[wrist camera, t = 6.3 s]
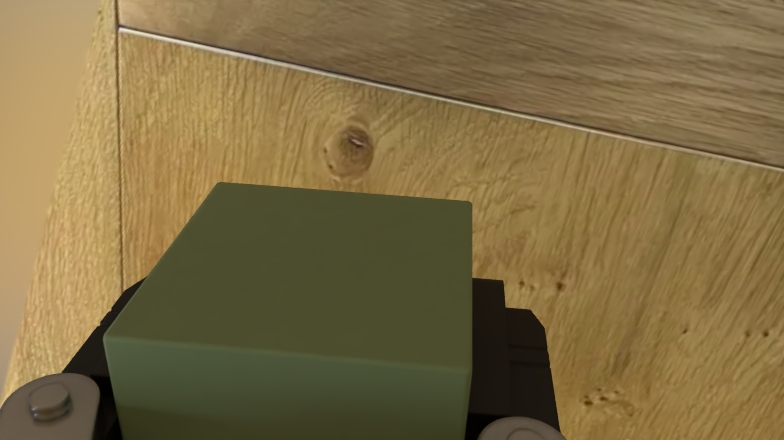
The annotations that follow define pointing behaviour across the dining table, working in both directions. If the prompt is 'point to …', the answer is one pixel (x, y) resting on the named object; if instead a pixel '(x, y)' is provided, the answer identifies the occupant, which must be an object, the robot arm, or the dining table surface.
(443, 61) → the dining table surface
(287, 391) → the block
